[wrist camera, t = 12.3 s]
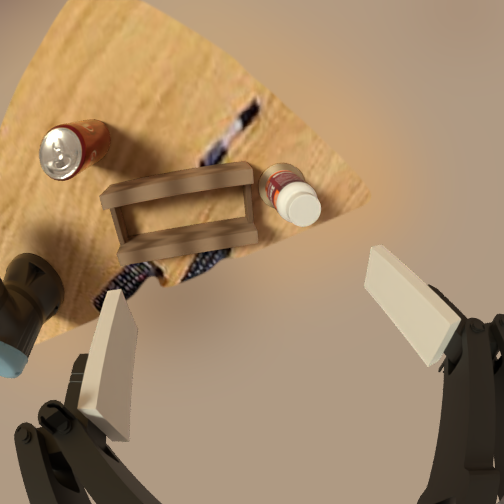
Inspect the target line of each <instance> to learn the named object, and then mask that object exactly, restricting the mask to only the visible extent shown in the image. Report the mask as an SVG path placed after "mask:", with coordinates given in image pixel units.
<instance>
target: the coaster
mask: <svg viewBox="0 0 504 504" xmlns="http://www.w3.org/2000/svg"><path fill="white" fill-rule="evenodd" d="M279 170H288V171H291V172H293V173H295V174H296V175H297V176H298V177H300V178H301V179H302V180H304V178H303V175H302V173H301V172H300V171H299V170H298V169H297V168H296V167H294V166H293V165H291V164H287V163H277V164H274V165H272V166H270V167H269V168H267V169H266V170H265V171H264V172H263V174H262V175H261V177H260V180H259V184H258V189H259V194H260V196H261V198H262V200H263V201H264V202H265V203H266V204H267V205H268V206H270V207H272V208H275V207H274V206H273V205H272V203H271V202H270V201H269V199H268V198H267V196H266V193H265V184H266V181H267V179H268V178H269V176H270V175H271V174H273V173H274V172H276V171H279Z"/></svg>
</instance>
